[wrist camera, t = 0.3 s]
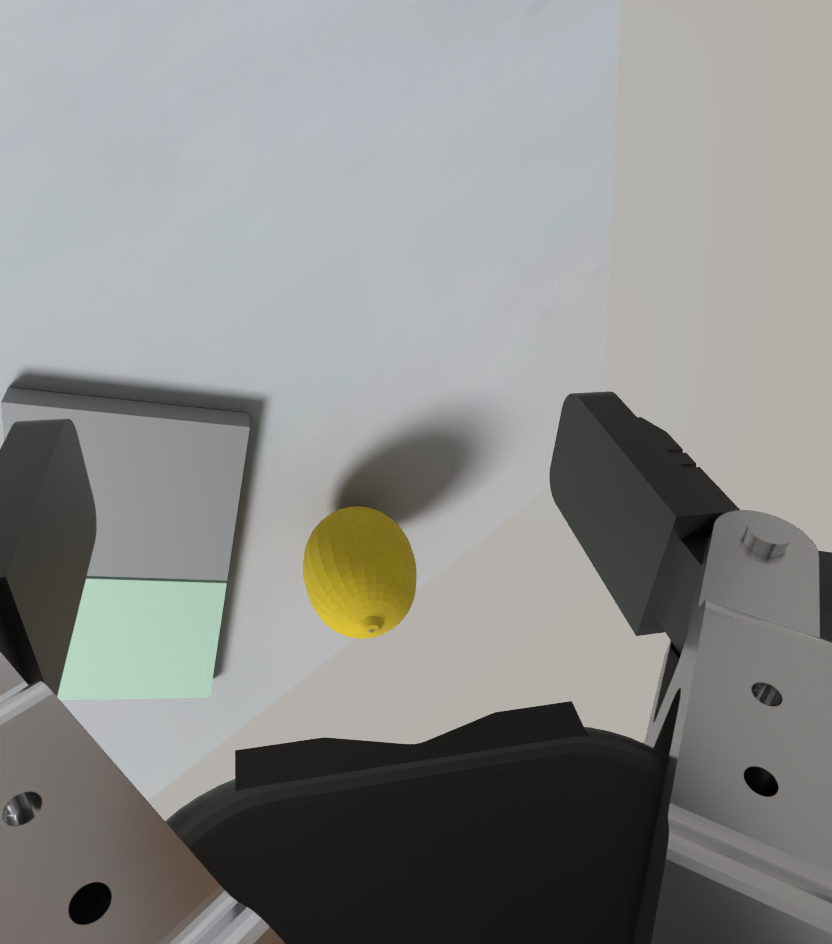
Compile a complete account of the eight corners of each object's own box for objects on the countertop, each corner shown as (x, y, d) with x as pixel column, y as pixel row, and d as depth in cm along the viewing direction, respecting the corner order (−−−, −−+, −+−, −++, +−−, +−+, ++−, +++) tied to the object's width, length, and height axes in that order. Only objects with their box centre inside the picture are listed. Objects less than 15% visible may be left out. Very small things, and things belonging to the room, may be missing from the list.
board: (8, 387, 30) (1, 402, 29) (249, 413, 33) (249, 427, 32) (30, 682, 41) (26, 700, 40) (210, 681, 44) (209, 697, 43)
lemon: (401, 472, 37) (435, 581, 31) (397, 548, 40) (427, 662, 34) (294, 480, 36) (308, 596, 30) (299, 559, 39) (313, 677, 33)
